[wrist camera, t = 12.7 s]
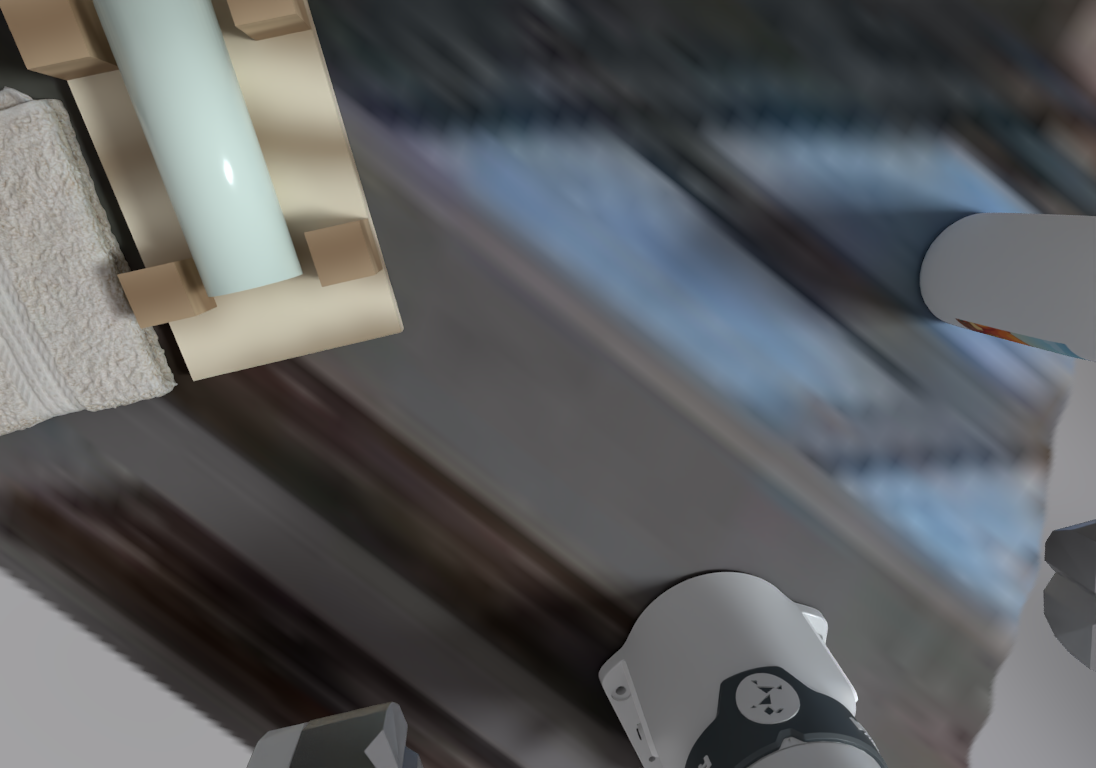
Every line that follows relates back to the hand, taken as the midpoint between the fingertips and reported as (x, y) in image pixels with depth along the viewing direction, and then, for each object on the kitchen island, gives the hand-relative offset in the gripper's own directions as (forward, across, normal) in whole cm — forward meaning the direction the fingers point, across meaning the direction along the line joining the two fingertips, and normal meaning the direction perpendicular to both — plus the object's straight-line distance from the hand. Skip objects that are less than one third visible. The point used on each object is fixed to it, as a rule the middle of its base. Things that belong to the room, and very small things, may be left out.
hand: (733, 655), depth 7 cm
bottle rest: (+33, +15, -11) cm, 38 cm away
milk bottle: (+34, -30, +6) cm, 46 cm away
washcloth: (+34, +28, -8) cm, 45 cm away
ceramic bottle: (+32, +15, -13) cm, 38 cm away
